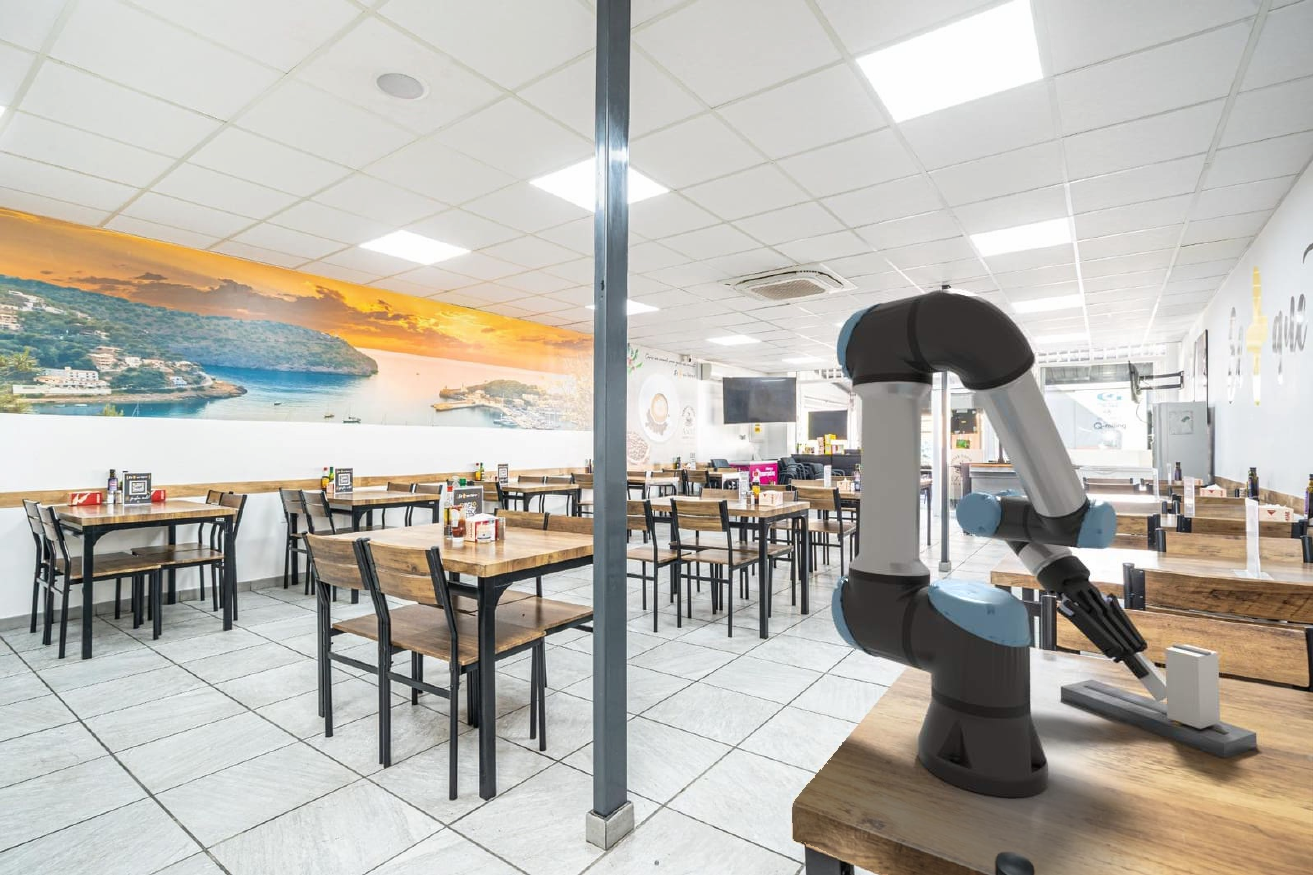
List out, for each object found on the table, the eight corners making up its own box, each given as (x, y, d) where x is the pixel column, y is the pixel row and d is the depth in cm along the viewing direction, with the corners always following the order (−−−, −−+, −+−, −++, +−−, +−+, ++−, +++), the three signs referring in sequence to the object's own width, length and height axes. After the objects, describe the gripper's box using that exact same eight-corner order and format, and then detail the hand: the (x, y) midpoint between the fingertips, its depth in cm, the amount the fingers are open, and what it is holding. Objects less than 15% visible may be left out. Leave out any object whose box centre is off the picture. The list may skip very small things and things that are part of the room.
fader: (1166, 717, 90) (1164, 646, 90) (1186, 711, 92) (1184, 642, 92) (1200, 729, 86) (1198, 654, 86) (1220, 722, 88) (1218, 650, 88)
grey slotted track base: (1060, 698, 102) (1060, 685, 102) (1091, 691, 106) (1091, 678, 106) (1224, 758, 82) (1224, 742, 82) (1256, 747, 85) (1256, 731, 85)
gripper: (1044, 555, 103) (1161, 691, 87) (1093, 550, 108) (1213, 678, 92) (1015, 581, 107) (1121, 715, 92) (1064, 575, 113) (1172, 701, 97)
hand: (1167, 696), depth 92 cm, fingers closed
